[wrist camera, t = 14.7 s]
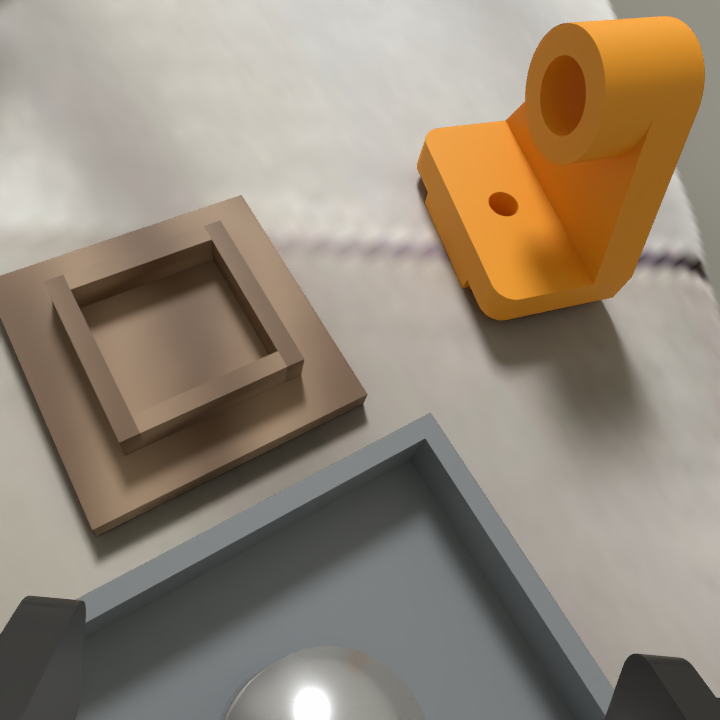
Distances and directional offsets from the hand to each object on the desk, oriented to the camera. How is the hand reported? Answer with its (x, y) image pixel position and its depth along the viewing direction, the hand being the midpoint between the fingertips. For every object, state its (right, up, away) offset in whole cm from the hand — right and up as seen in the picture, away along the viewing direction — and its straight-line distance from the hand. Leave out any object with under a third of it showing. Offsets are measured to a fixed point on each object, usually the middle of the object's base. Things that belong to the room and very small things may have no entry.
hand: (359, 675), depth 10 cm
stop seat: (-8, +5, +19) cm, 22 cm away
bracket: (+8, +11, +26) cm, 29 cm away
